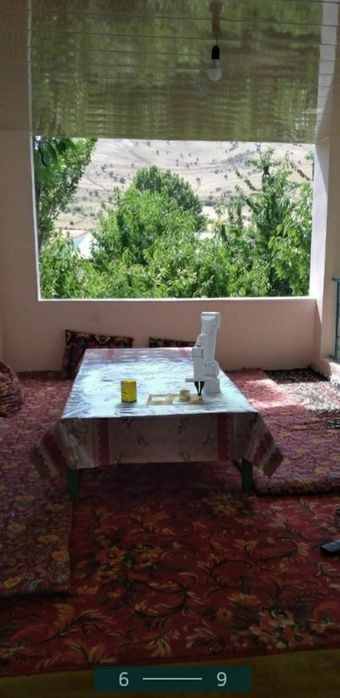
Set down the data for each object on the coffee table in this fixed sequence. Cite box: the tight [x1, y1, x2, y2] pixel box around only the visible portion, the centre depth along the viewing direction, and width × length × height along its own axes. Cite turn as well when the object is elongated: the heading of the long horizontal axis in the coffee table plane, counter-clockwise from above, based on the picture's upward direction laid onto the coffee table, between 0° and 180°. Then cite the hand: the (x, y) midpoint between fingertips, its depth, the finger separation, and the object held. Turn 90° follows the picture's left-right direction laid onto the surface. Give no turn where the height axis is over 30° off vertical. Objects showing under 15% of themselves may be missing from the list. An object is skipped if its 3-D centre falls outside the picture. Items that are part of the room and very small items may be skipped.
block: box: [179, 387, 191, 401], centre depth 268 cm, size 5×5×5 cm
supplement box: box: [120, 378, 138, 404], centre depth 270 cm, size 6×6×11 cm
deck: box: [145, 393, 204, 406], centre depth 267 cm, size 28×22×2 cm
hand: (199, 395), depth 268 cm, fingers closed
